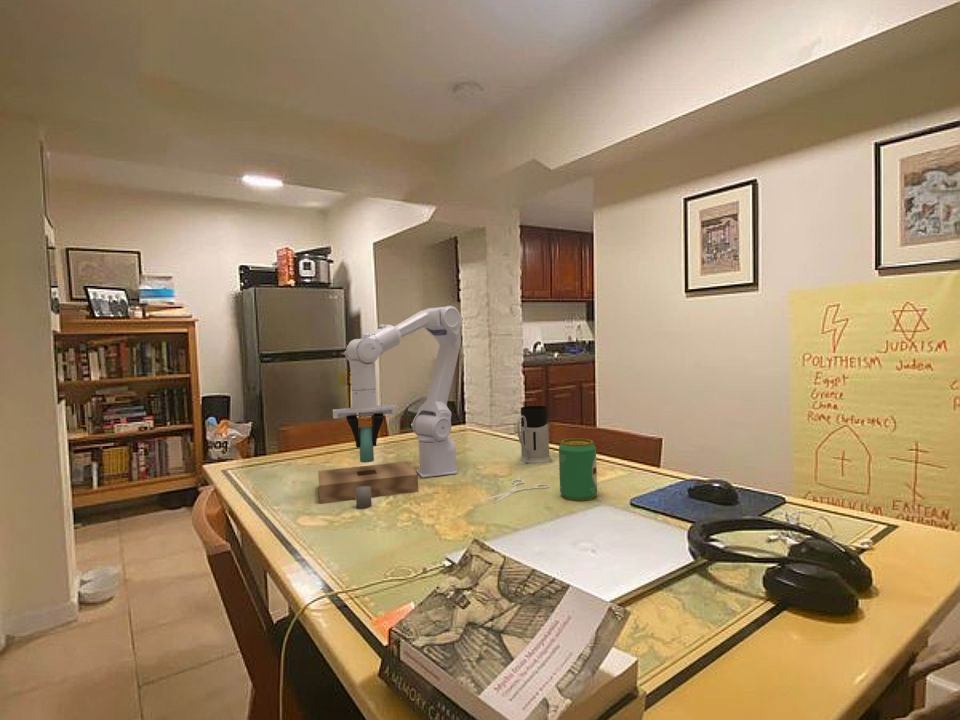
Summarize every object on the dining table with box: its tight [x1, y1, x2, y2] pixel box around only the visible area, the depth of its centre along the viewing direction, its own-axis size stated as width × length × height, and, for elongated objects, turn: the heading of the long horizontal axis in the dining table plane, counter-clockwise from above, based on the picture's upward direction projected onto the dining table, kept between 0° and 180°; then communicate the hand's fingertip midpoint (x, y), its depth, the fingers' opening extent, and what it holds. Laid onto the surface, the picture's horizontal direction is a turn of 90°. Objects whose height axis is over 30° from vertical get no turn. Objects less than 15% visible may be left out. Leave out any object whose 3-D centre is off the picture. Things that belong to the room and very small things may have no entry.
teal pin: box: [358, 425, 375, 464], centre depth 125 cm, size 3×3×8 cm
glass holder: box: [516, 405, 552, 465], centre depth 148 cm, size 9×14×15 cm, turn 148°
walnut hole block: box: [317, 461, 419, 504], centre depth 126 cm, size 22×14×4 cm, turn 108°
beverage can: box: [558, 437, 598, 502], centre depth 115 cm, size 8×8×12 cm
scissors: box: [479, 476, 551, 504], centre depth 120 cm, size 11×1×20 cm
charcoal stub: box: [355, 486, 373, 510], centre depth 113 cm, size 3×3×4 cm
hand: (366, 446), depth 126 cm, fingers closed on teal pin, 3 cm apart
